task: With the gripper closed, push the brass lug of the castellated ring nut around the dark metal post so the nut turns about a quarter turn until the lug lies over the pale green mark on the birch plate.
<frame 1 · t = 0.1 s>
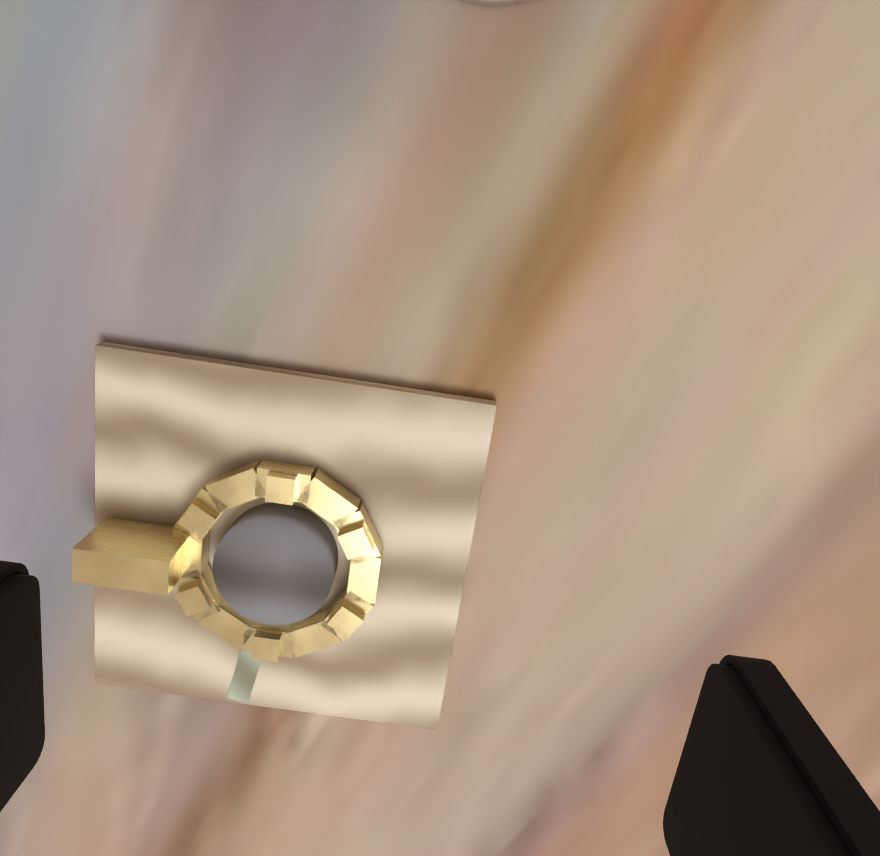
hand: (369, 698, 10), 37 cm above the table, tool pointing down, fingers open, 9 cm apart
ring nut: (234, 568, 46), point 4 cm above the table, hinge at 0.0°
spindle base: (285, 546, 50), on the table
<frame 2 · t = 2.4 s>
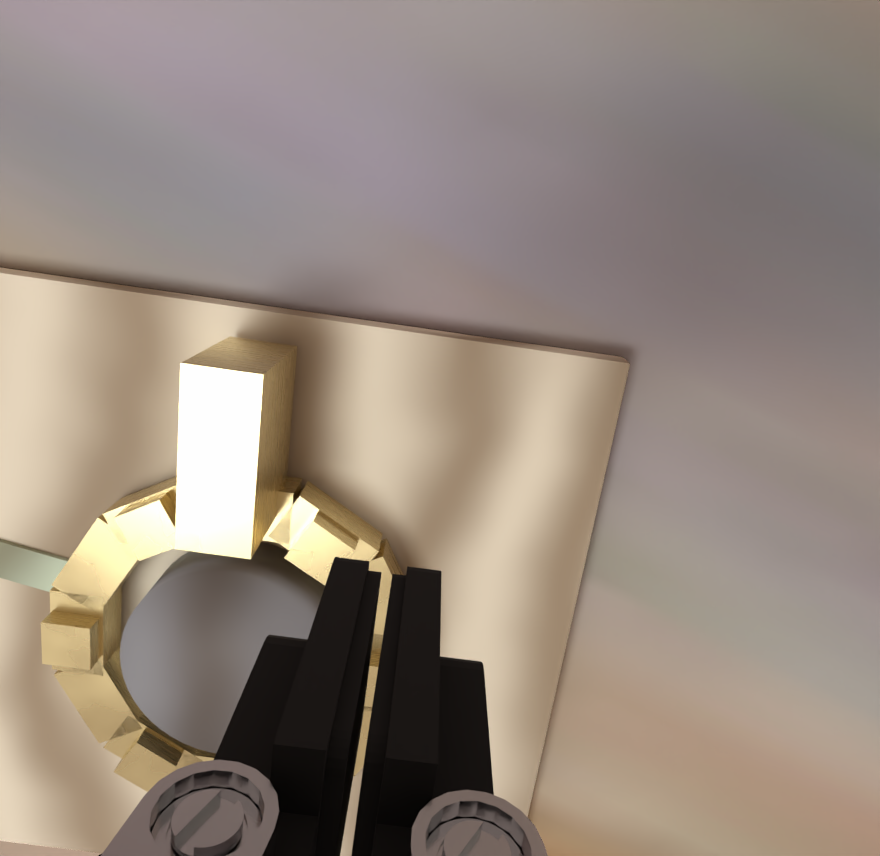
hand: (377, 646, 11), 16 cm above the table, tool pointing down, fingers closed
ring nut: (230, 610, 25), point 4 cm above the table, hinge at 0.0°
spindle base: (255, 612, 29), on the table
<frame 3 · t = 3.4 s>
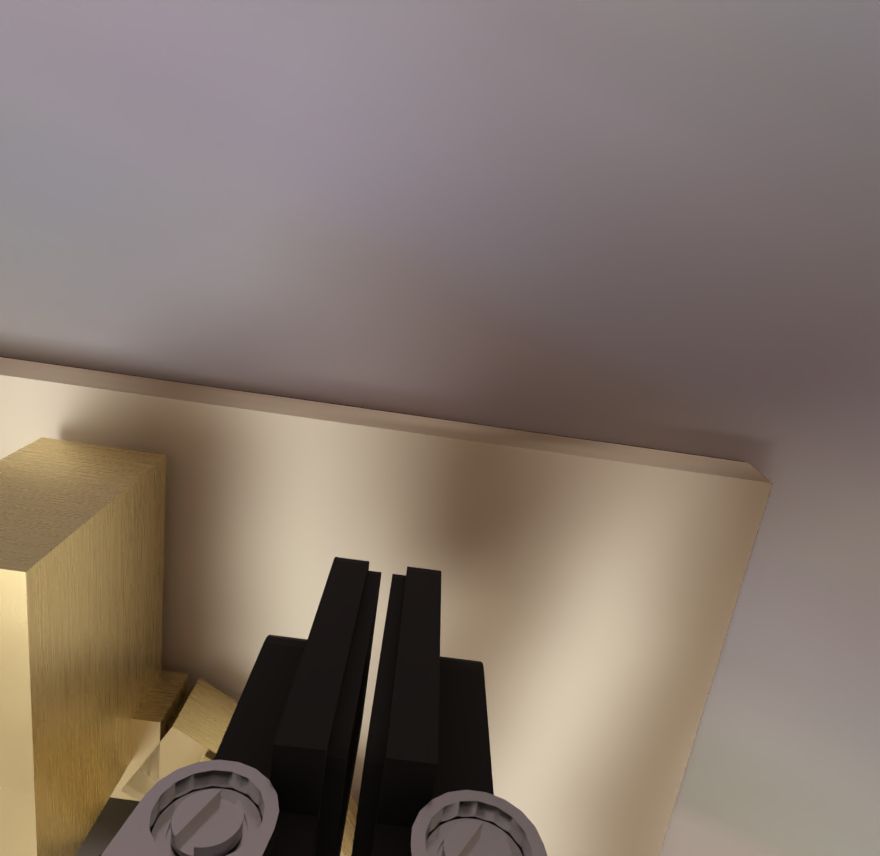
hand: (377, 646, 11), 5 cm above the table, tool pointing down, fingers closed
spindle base: (134, 851, 18), on the table
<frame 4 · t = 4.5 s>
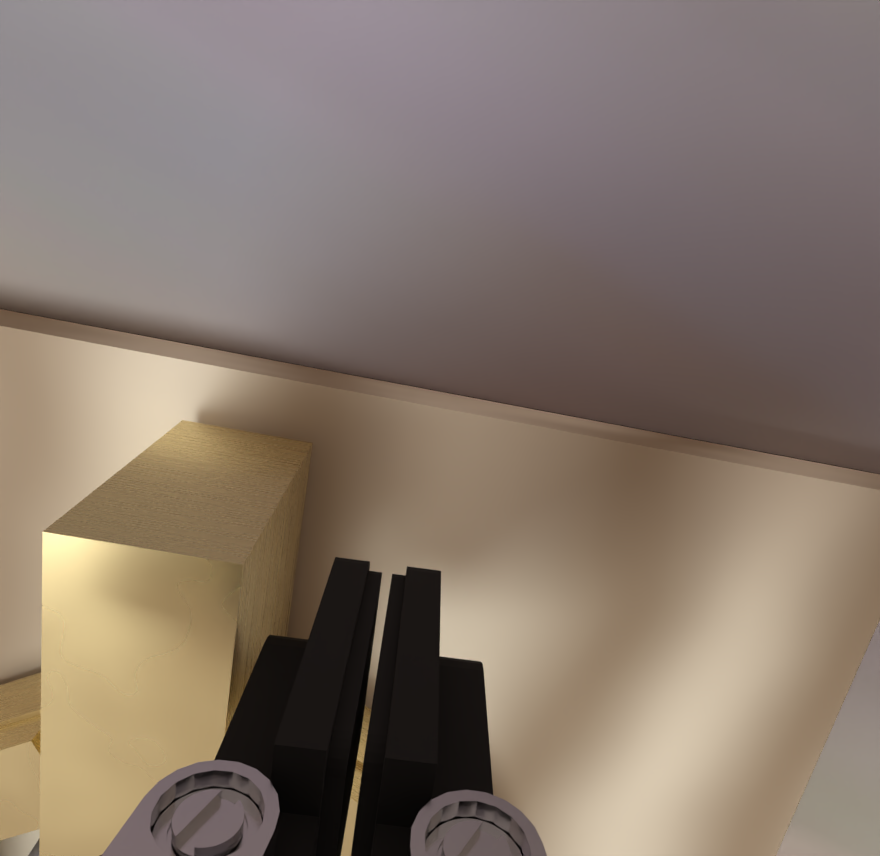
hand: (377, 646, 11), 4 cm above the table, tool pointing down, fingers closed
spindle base: (219, 849, 18), on the table
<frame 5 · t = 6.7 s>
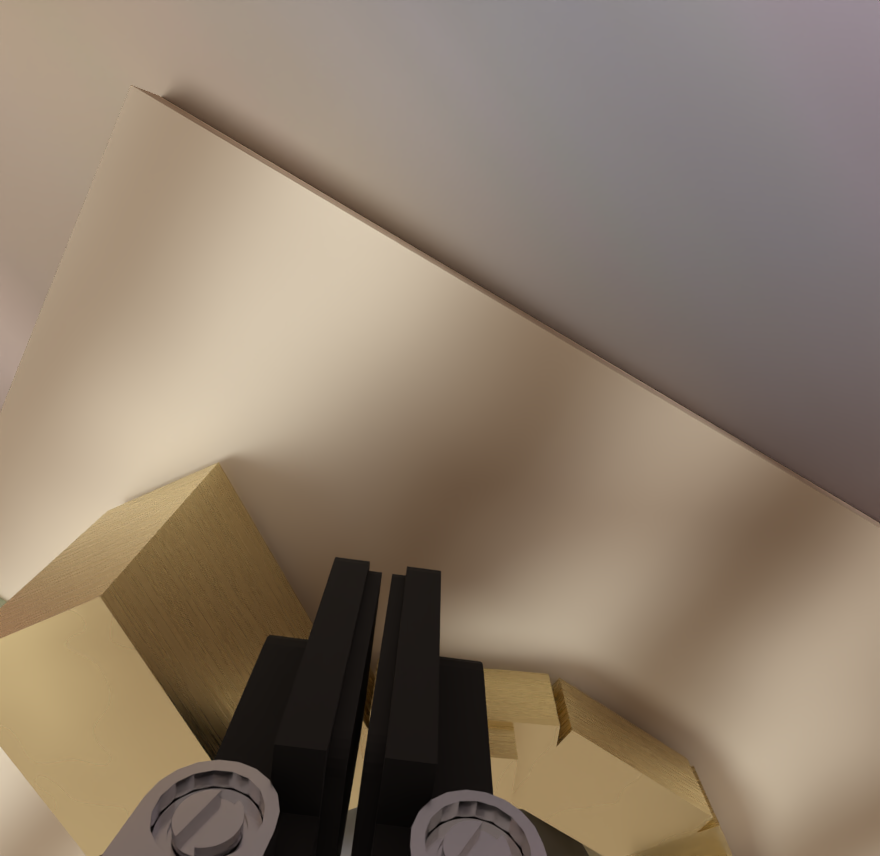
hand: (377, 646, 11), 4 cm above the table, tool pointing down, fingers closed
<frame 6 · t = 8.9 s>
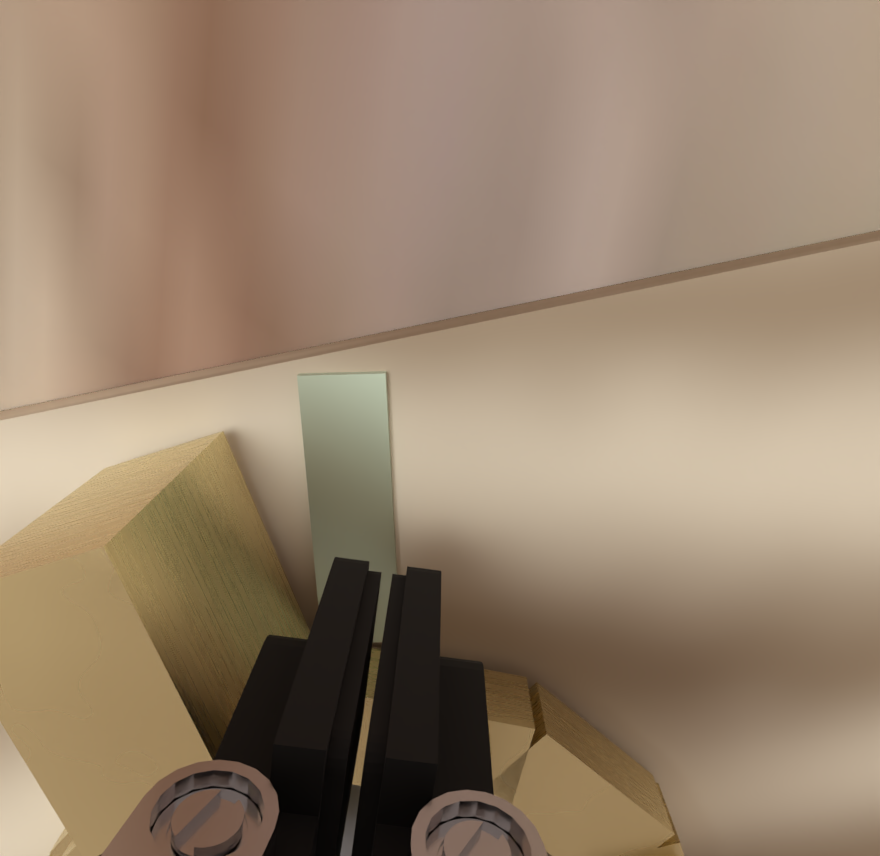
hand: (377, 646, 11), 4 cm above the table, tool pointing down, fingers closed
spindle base: (385, 854, 18), on the table
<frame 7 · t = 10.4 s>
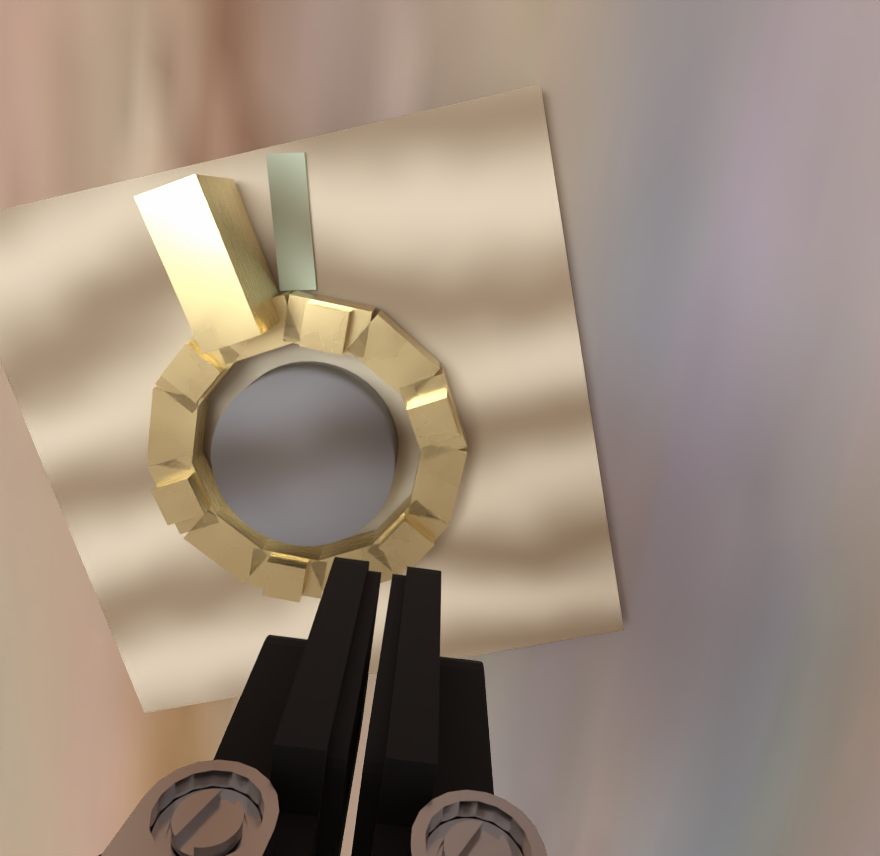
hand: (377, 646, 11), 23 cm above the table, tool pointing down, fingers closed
ring nut: (280, 411, 29), point 4 cm above the table, hinge at 96.2°
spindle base: (318, 436, 34), on the table
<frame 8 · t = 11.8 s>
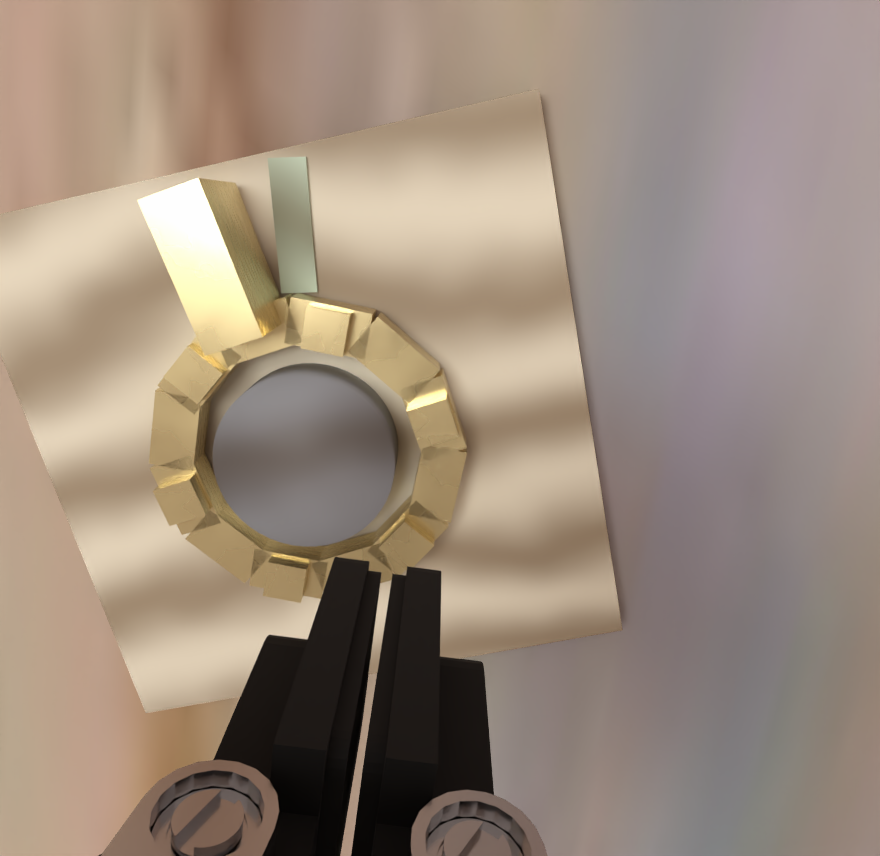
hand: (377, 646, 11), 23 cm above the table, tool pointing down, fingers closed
ring nut: (281, 412, 30), point 4 cm above the table, hinge at 96.2°
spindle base: (318, 437, 34), on the table
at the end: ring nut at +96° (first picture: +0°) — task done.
